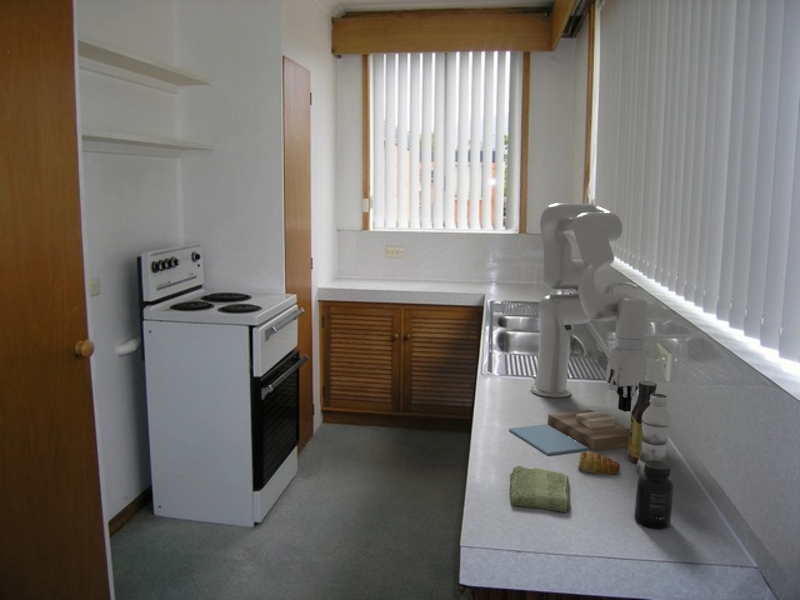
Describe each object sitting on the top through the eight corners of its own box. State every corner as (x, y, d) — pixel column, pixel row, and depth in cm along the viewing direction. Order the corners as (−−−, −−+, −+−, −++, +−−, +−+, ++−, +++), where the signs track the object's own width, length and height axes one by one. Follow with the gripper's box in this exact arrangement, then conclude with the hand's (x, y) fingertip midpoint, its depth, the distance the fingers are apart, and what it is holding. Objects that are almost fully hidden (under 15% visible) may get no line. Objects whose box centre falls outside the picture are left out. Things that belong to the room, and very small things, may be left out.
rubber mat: (508, 430, 190) (509, 428, 190) (546, 426, 194) (546, 424, 194) (547, 455, 173) (547, 453, 173) (587, 449, 178) (587, 447, 178)
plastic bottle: (629, 479, 161) (638, 395, 157) (643, 472, 165) (652, 389, 162) (656, 489, 156) (666, 402, 153) (670, 481, 161) (679, 396, 158)
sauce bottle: (633, 453, 177) (640, 376, 173) (658, 460, 173) (666, 382, 169) (622, 461, 172) (630, 382, 168) (648, 468, 168) (656, 387, 164)
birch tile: (575, 421, 190) (576, 413, 190) (600, 418, 194) (600, 411, 193) (589, 428, 185) (590, 421, 185) (614, 425, 188) (615, 418, 188)
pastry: (619, 467, 168) (620, 452, 167) (619, 479, 162) (620, 463, 161) (578, 462, 171) (579, 447, 170) (577, 473, 164) (578, 457, 164)
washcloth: (568, 481, 160) (569, 467, 159) (570, 516, 143) (572, 501, 142) (510, 474, 162) (511, 460, 162) (505, 508, 145) (506, 493, 145)
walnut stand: (547, 424, 196) (548, 414, 195) (589, 419, 201) (589, 409, 201) (593, 450, 178) (594, 439, 177) (637, 444, 183) (638, 433, 183)
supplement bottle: (676, 522, 141) (682, 465, 139) (660, 533, 136) (666, 474, 134) (643, 510, 146) (649, 455, 144) (627, 520, 141) (633, 463, 139)
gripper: (641, 339, 195) (636, 404, 198) (597, 342, 190) (592, 408, 192) (661, 345, 189) (655, 411, 191) (616, 348, 183) (611, 416, 185)
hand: (624, 410), depth 192 cm, fingers closed
